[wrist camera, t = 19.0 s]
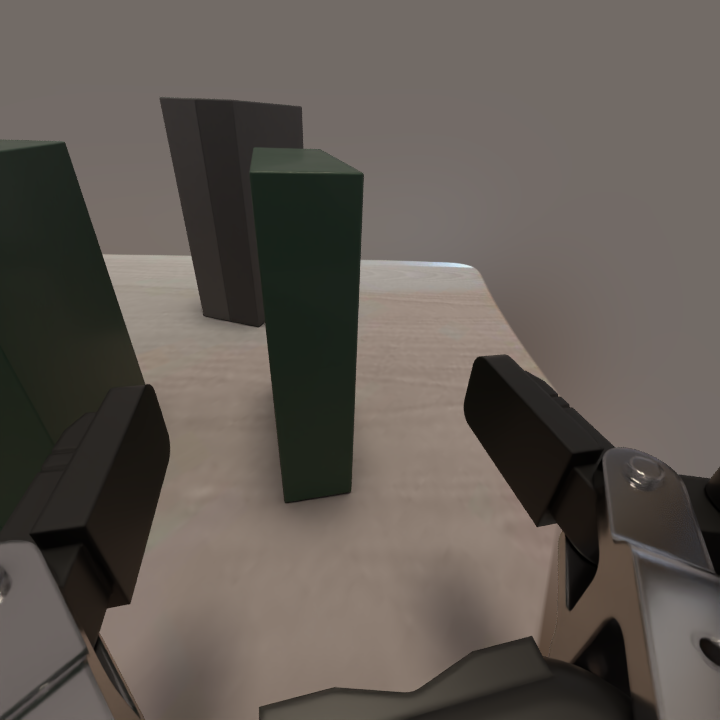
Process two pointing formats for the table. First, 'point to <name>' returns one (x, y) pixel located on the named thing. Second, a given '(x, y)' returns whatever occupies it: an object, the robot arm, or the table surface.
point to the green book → (310, 309)
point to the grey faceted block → (224, 193)
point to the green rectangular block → (50, 313)
